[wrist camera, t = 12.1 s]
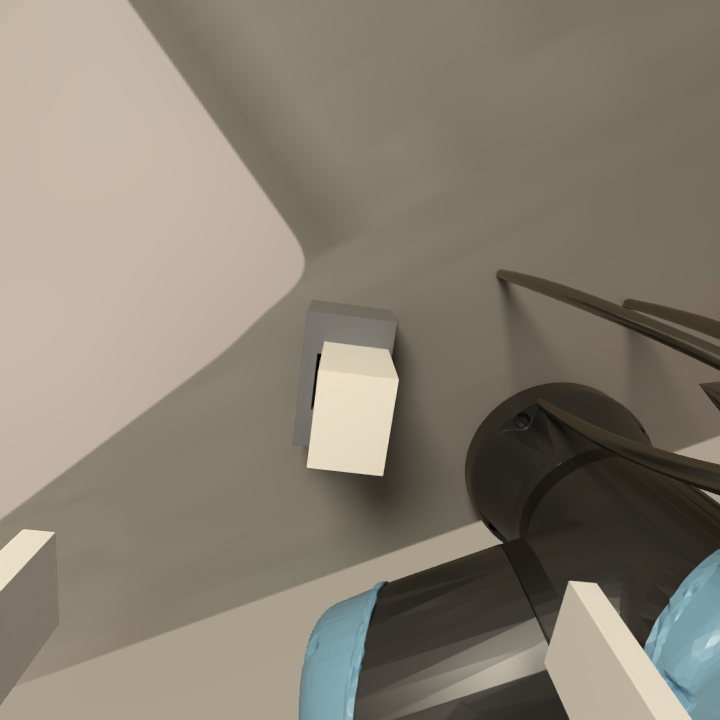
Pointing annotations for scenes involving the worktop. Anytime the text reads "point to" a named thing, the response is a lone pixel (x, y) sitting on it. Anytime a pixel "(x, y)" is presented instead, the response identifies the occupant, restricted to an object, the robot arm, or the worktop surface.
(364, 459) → the plug
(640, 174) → the worktop surface
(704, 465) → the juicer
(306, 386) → the socket block
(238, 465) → the worktop surface
